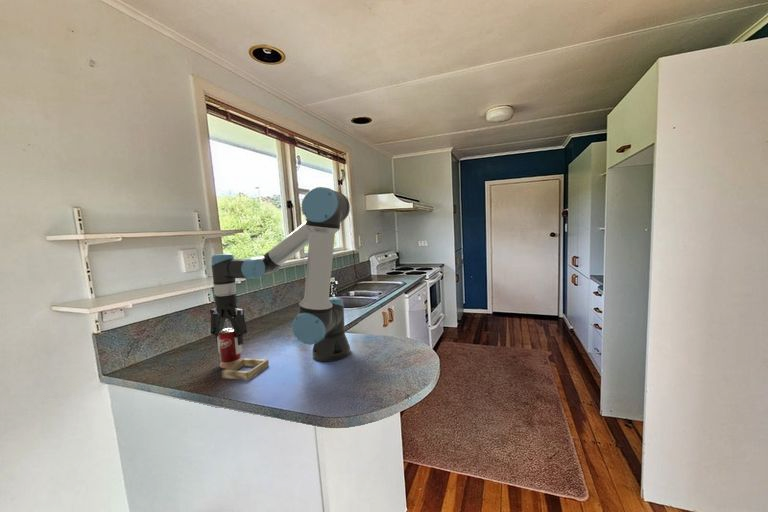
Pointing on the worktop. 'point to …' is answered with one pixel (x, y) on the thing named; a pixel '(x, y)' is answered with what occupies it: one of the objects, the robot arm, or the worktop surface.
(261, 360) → the frame
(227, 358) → the soda can
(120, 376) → the worktop surface
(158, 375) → the worktop surface
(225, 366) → the coaster
